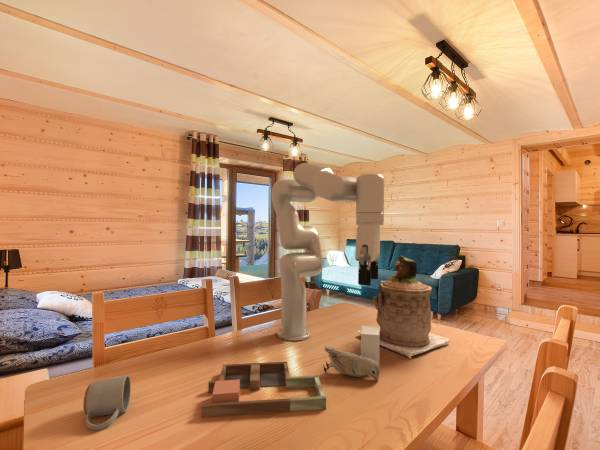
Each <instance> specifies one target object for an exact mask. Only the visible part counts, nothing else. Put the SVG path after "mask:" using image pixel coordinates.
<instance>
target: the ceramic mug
mask: <svg viewBox="0 0 600 450" xmlns="http://www.w3.org/2000/svg"><path fill="white" fill-rule="evenodd" d="M131 385H132V383H131V378H130V376H129V375H128V374H125V375H120V376H115V377H110V378H105V379H100V380H99V379H98V380H96V381H93V382H91V383H90V384H88V385H87V387H86V389H85V392H84V396H83V402H82V404H83V405H82V406H83V412H84V414H85V415H86V417H85V421H86V425H87V427H88V429H90V430H92V431H101V430H104V429H106V428H108V427H109V426H111V425H112V424H113V423H114V422H115V421H116V419H117V418H118V415H119V414H123V413H126V412H128V409H129V406H130V401H131V395H132V394H131V391H132V390H131V388H132V387H131ZM110 415H112V416H110ZM103 416H110V418H108V419H107V420H106V421H104V422H102V423H99V424H94V423H92V422H90V419H91V417H92V418H94V417H103Z"/></svg>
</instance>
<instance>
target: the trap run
mask: <svg viewBox="0 0 600 450" xmlns="http://www.w3.org/2000/svg"><path fill="white" fill-rule="evenodd" d="M318 375H319V374H318ZM318 375H316V374H315V375H299V376H298V375H297V376H290V370H289V365H288V361H270V362H251V363H250V362H249V363H248V362H247V363H232V364H231V363H228V364H226V363H225V364H222V367H221V371H220V375H219V380H218V381H224V380H239V379H240V389H249V391H260V389H261V388H267V387H285V388H286V389H298V388H312V387H314V390H315V392H316V396H304V397H292V398H291V397H290V398H289V397H288V398H274V399H273V398H272V399H257V400H244V401H243V400H241V401H240V400H239V402H224V403H212V402H210V403H202V404H201V408H200V409H201V412H200V413H201V414H200V418H213V417H227V416H243V415H256V414H258V415H259V414H271V413H272V414H273V413H286V412H299V411H300V412H301V411H314V410H316V411H317V410H327V397H326V394H325V392H324V389H323V386H322V383H321V381H320V379H319V376H318ZM215 381H216V380H209V381H208V390H207V391H208V393H209V394H213V390H214V385H215Z"/></svg>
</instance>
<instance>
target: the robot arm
mask: <svg viewBox="0 0 600 450" xmlns="http://www.w3.org/2000/svg"><path fill="white" fill-rule="evenodd" d="M317 198H322V199H324V200H326V201H331V202H337V203H341V202H342V203H355V225H357V229H356V237H355V238H356V239H355V251H354V252H355V254H354V260H355V261H356V262H358V271H357V272H358V277H357V278H358V279H357V283H358V285H359V286H371V284H372V280H378V279H379V258H380V254H381V252H380V251H381V227H380V226H384V225H385V221H384V220H385V178H384V176H383V175H382V174H378V173H365V174H360V175H358V176H349V175H341V174H340V175H339V174H334V172H333V170H332V169H331V168H330V167H329V166H328V165H325V164H321V163H320V164H319V163H311V162H303V163H299V164H297V165H296V167H295V168H294V171H293V179H281V180H278V181H276V182H274V184H273V185H272V189H271V201H272V206H273V209H274V211H275V215H276V219H277V226H278V227H277V229H278V235H279V241H280V246H281V247H282V248H283V249H284V250H286V251H287V250H288V251H289V250H291V251H293V250H294V251H295V250H296V251H297V250H303V251H304V252H291V253H286V254H284V255H282V256H281V257H280V259H279V263H278V267H279V274H280V281H281V282H280V283H281V315H280V316H281V317H280V319H281V320H280V321H281V322H280V323H281V324H280V325H281V327H280V328H279V329H278V330H277V331H276V336H277V337H278V338H279V339H281V340H284V341H289V342H290V341H292V342H293V341H294V342H296V341H298V342H299V341H303V340H305V339H308V338H309V337H310V336H311V331H310V330H309V329H308V328H307V327H306V326H307V287H306V285H305V283H304V282H303V280H302V278H308V277H315V276H316V277H317V276H318V275H320V274H321V273H322V271H323V268H324V261H323V253H322V248H321V247H322V246H321V239H320V235H319V232H318V231H317V229H316V228H315V227H314V226H312V225H301V223H300V218H299V212H298V211H297V209H296V208H295V207H294V205H292V203H291V202H293V203H295V202H296V203H310V202H313V201H315V200H316V199H317Z"/></svg>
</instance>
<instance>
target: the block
mask: <svg viewBox="0 0 600 450" xmlns="http://www.w3.org/2000/svg"><path fill="white" fill-rule="evenodd" d="M214 381H215V385H214V390H213V393H211V395H212V399H211V400H212V401H211V403H224V402H239V401H240V394H241V392H240V391H241V388H240V379H239V380H226V379H225V380H224V381H219V380H214Z"/></svg>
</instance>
